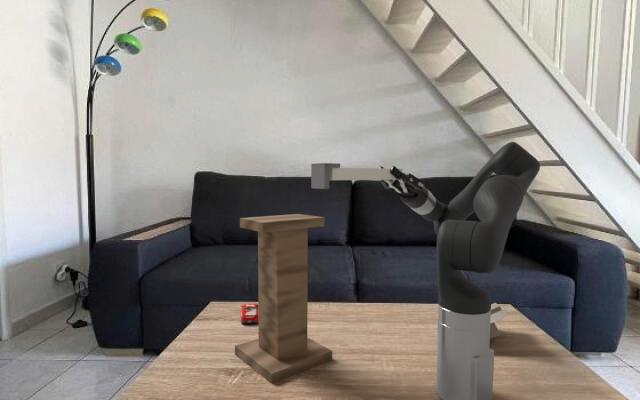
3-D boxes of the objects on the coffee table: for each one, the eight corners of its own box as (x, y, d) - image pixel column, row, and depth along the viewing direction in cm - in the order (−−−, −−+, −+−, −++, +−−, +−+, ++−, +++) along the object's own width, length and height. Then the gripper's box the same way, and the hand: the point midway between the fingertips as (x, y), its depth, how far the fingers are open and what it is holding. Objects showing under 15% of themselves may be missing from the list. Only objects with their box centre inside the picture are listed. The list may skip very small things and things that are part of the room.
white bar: (403, 186, 109) (404, 165, 108) (324, 188, 91) (324, 163, 90) (389, 186, 113) (390, 165, 112) (311, 188, 94) (311, 163, 94)
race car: (241, 310, 120) (241, 297, 120) (259, 309, 121) (259, 296, 120) (239, 326, 107) (238, 312, 107) (259, 325, 108) (258, 311, 107)
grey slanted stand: (477, 371, 90) (528, 331, 89) (451, 340, 92) (501, 301, 91) (465, 351, 106) (508, 317, 105) (443, 325, 108) (485, 291, 107)
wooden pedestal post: (332, 359, 87) (333, 218, 85) (271, 383, 77) (271, 224, 75) (291, 336, 100) (291, 212, 98) (234, 354, 90) (233, 217, 88)
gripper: (403, 186, 124) (371, 158, 114) (442, 187, 113) (410, 156, 103) (395, 207, 122) (362, 180, 112) (434, 210, 111) (401, 181, 101)
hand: (385, 169), depth 107 cm, fingers closed on white bar, 4 cm apart
